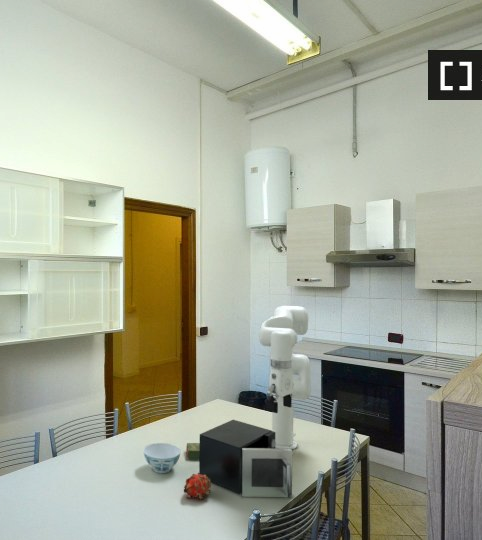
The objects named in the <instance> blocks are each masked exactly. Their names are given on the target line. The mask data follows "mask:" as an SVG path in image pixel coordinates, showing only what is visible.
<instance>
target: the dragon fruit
mask: <svg viewBox="0 0 482 540" xmlns="http://www.w3.org/2000/svg"><path fill="white" fill-rule="evenodd" d="M211 484H212V483H211V482H210V478H208V477H207V475H202V474H200V473H199V472H197V474H195V473H192V475H190V476H189V477H188V478H186V480H185V484H184V487H183V493H184V494H187V495H186V497H187V499H188V498H189V499H194V498H198V499H199V500H202V499H204V497H205V496H206V495H210V493H211V491H212V489H211V488H212V485H211Z"/></svg>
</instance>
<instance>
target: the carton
mask: <svg viewBox="0 0 482 540" xmlns="http://www.w3.org/2000/svg"><path fill="white" fill-rule="evenodd" d="M199 447H200V442H186V449H185V450H186V451H185V452H186V456H187V459H188V460H190V461H191V460H193V461H194V460H195V461H196V460H197V461H199Z"/></svg>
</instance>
